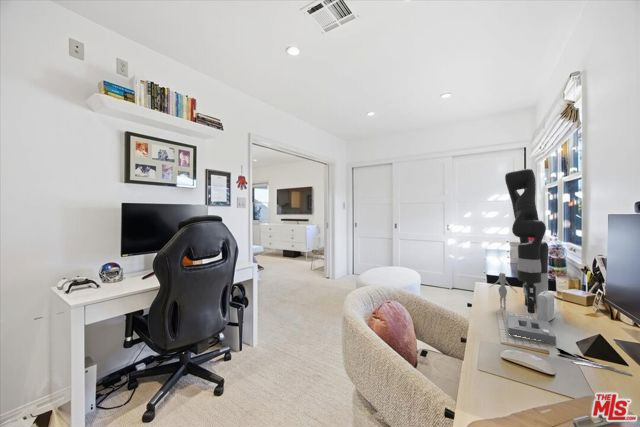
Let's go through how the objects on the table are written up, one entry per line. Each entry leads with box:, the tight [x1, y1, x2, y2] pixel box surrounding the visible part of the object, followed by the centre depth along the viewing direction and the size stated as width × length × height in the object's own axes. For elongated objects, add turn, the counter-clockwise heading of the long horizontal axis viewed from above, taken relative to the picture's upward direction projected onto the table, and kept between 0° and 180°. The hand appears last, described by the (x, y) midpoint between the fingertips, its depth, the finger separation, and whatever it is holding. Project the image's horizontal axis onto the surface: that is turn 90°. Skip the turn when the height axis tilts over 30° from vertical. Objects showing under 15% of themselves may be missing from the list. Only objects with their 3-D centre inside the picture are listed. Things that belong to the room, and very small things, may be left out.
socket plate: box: [506, 314, 557, 346], centre depth 106 cm, size 16×14×4 cm
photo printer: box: [536, 290, 556, 322], centre depth 119 cm, size 10×4×12 cm, turn 123°
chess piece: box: [524, 308, 533, 328], centre depth 106 cm, size 5×5×10 cm
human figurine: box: [488, 272, 518, 310], centre depth 132 cm, size 12×4×18 cm, turn 43°
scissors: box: [555, 347, 634, 377], centre depth 85 cm, size 8×21×2 cm, turn 42°
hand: (529, 309), depth 106 cm, fingers open, 8 cm apart
